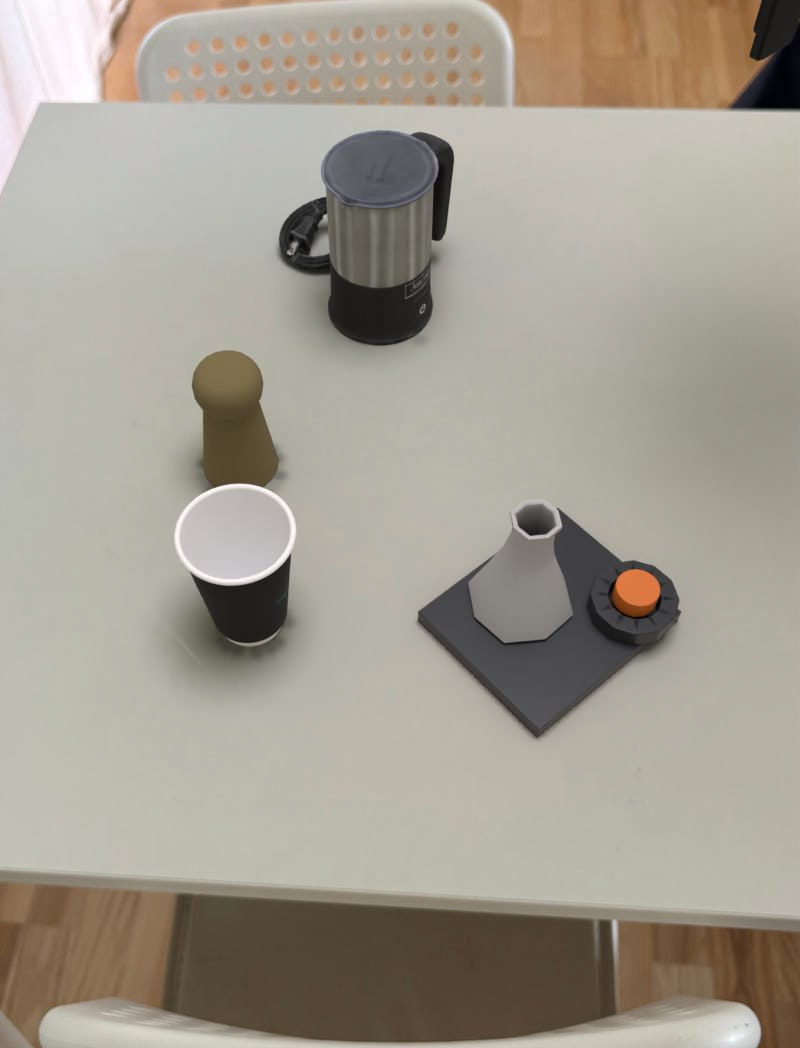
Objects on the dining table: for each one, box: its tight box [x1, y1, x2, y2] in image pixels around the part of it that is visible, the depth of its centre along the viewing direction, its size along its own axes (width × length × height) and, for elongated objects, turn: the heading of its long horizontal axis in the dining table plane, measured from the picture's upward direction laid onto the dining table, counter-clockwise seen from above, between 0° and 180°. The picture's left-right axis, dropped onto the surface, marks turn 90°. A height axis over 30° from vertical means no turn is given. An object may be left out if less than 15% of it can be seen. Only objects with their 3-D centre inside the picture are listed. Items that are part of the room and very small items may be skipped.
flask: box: [468, 498, 573, 643], centre depth 74 cm, size 7×7×10 cm
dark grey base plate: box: [417, 507, 682, 739], centre depth 78 cm, size 14×12×3 cm
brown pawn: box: [191, 349, 279, 488], centre depth 83 cm, size 6×6×11 cm
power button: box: [612, 569, 660, 617], centre depth 76 cm, size 3×3×2 cm
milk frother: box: [278, 129, 455, 345], centre depth 93 cm, size 14×16×15 cm
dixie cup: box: [173, 484, 297, 647], centre depth 75 cm, size 8×8×11 cm
